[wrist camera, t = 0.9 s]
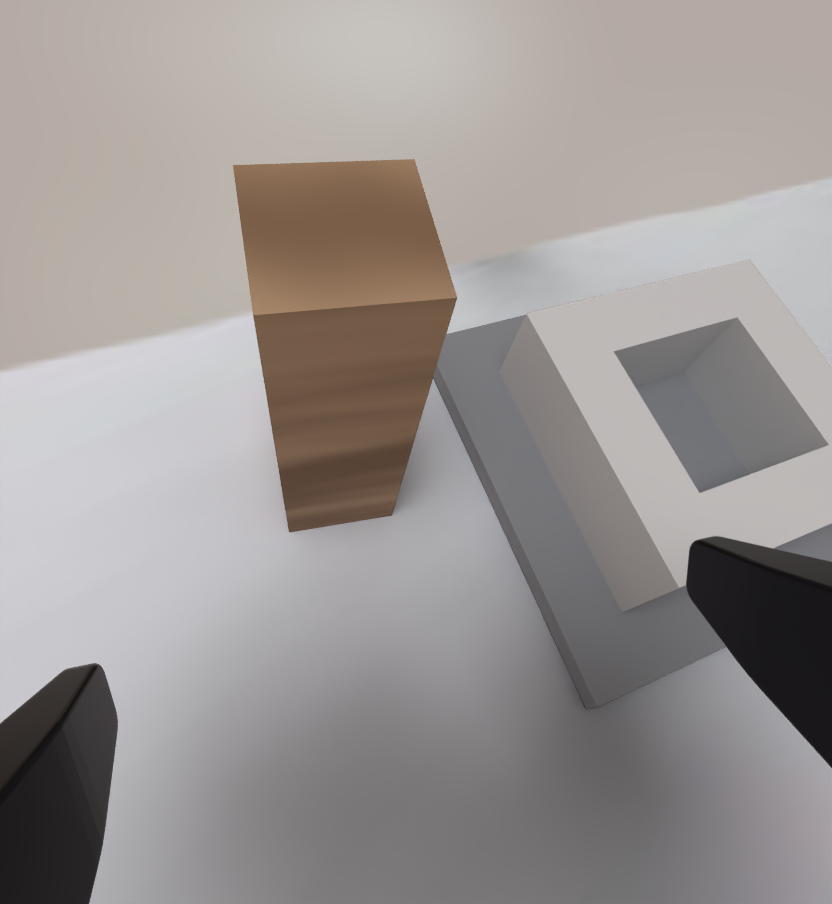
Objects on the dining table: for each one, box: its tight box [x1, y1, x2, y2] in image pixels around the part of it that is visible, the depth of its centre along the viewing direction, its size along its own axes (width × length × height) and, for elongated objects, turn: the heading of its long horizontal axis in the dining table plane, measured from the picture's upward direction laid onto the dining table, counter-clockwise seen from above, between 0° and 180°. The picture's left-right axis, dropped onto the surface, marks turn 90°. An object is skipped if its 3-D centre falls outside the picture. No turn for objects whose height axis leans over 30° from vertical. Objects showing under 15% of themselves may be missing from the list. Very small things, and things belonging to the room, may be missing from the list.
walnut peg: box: [233, 159, 457, 532], centre depth 18 cm, size 4×4×13 cm
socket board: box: [433, 259, 832, 709], centre depth 24 cm, size 16×16×5 cm
